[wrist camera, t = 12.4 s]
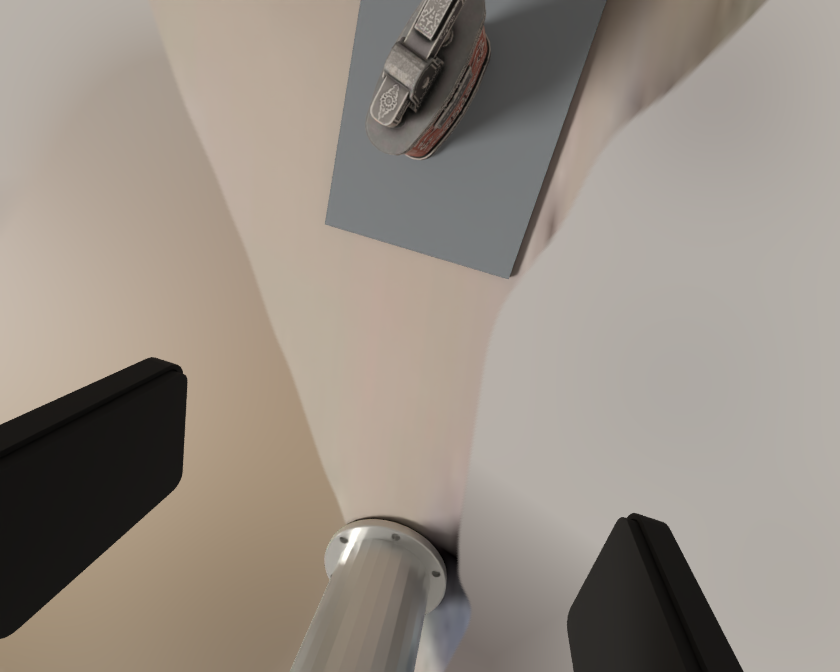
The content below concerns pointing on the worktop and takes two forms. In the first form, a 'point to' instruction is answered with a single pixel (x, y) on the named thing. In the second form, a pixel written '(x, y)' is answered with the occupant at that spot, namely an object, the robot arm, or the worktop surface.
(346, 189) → the mat
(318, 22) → the worktop surface
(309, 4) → the worktop surface
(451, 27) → the lighter
